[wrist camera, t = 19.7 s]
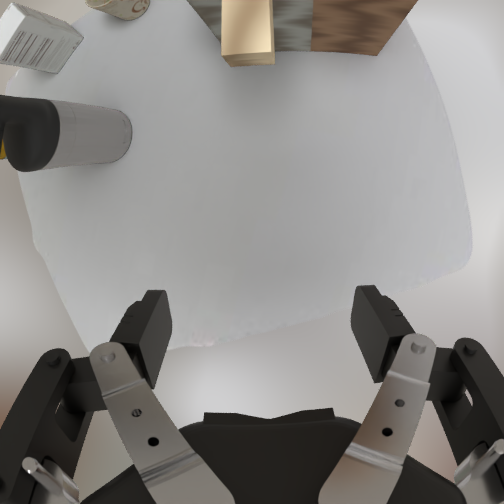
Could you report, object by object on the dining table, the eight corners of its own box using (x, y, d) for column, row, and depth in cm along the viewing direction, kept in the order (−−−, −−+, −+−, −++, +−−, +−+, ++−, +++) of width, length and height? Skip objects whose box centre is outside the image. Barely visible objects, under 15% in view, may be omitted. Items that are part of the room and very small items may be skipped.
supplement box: (41, 55, 41) (-17, 44, 26) (66, 21, 39) (10, 0, 23) (57, 75, 42) (-5, 64, 27) (85, 37, 40) (25, 15, 24)
